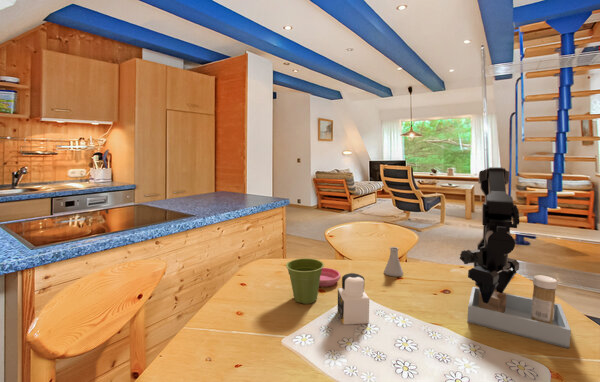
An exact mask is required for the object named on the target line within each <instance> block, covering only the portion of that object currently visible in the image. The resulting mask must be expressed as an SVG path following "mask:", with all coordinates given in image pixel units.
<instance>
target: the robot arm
mask: <svg viewBox="0 0 600 382" xmlns="http://www.w3.org/2000/svg"><path fill="white" fill-rule="evenodd" d="M509 183H510V171H508V170H506V168H505V167H494V166H491V167H489V166H488V167H487V168H486V169H483V170H480V171H479V173H478V184H480V190H481V192H482V193H483V195H484V202H482V206H481V207H482V208H481V224H482V226H483V227H482V238H481V239H480V240H479V242H478V243H477V244H476V245H477V246H476V249H474V250H470V249H466V250H465V249H463V250H461V253H460V254H459V255H460V257H459V260H461V261H462V262H463V264H464V265H468V264H473V267H472V268H470V269H468V270H467V278H469V279H471V280H472V281H473V282H474V283H475V286H478V288H479V289H480V293H481V296H482V300H483V302H484V303H488V302H489V300H490V299H491V297H492V295H493V293H494V291H497V292H500V293H504V291H505V289H507V287H508V285H509V284H510V282H511V281H512V279H513V278H514V277H515V275H516V274H517V272H518V271H519V270H520V263H519V262H518V260H517V259H515V258H511V257H509V254H511V253H512V251H513V250H514V249H515V246H516V242H515V239H514V237H513V235H512V234H511V229H517V228H518V226H519V225H520V213H519V211H520V209H519V208H518V206H517V204H514V199H513V196H511V195H509V194H508V193H507V189H506V188H507V187H506V185H508V184H509Z"/></svg>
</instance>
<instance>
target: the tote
mask: <svg viewBox="0 0 600 382" xmlns="http://www.w3.org/2000/svg"><path fill="white" fill-rule="evenodd" d="M479 293H480V289H479V287H476V286H472V288H471V293H470V296H469V300H468V305H467V321H466V322H467V323H469V324H472V325H473V324H474V325H477V326H481V327H484V328H489V329H492V330H497V331H499V332H504V333H508V334H511V335H516V336H519V337H523V338H527V339H530V340H534V341H538V342H543V343H546V344H550V345H553V346H556V347H557V346H558V347H561V348H565V349H570V345H571V344H570V343H571V334H572V330H571V327H570V325H569V322H568V319H567V317H566V315H565V312H564V309H563V307H562V304H561V303H556V302H554V319H553V325H552V324H548V323H544V322H540V321H535V320H531V310H532V297H526V296H521V295H516V294H510V293H507V292H503V294H506V308H505V312H504V313H501V312H497V311H493V310H488V309H484V308H480V307H478V304H479Z"/></svg>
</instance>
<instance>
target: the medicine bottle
mask: <svg viewBox="0 0 600 382" xmlns="http://www.w3.org/2000/svg"><path fill="white" fill-rule="evenodd" d="M337 313H338V316H339V318H340V320H341V323H342V325H360V324H361V325H364V324H369V323H370V297H369V296H368V294H367V293H366V291H365V276H363V275H361V274H358V273H353V272H350V273H346V274H344V275H343V276H342V277H341V287H339V288H337Z"/></svg>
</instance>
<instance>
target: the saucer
mask: <svg viewBox="0 0 600 382" xmlns="http://www.w3.org/2000/svg"><path fill="white" fill-rule="evenodd" d="M340 279H341V273H340V272H339V270H337V269H334V268H330V267H323V268H322V272H321V275H320V282H319V287H322V288H323V287H324V288H326V287H332V286H334V285H335V284H337V282H338V281H339V280H340Z"/></svg>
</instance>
